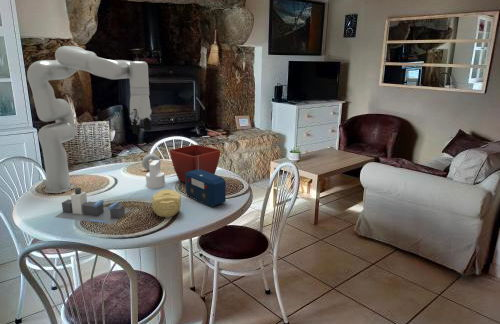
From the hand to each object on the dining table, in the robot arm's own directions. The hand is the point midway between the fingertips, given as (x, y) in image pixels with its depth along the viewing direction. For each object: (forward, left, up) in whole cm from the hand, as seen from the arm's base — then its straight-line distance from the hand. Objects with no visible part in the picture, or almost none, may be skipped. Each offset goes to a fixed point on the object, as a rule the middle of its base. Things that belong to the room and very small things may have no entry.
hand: (142, 131), depth 158 cm
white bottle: (-17, -23, -30) cm, 41 cm away
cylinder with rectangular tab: (-4, +18, -32) cm, 36 cm away
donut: (-17, +40, -31) cm, 54 cm away
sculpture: (+16, -13, -32) cm, 38 cm away
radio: (+26, +6, -32) cm, 41 cm away
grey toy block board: (-11, -23, -31) cm, 40 cm away
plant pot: (+13, +30, -32) cm, 45 cm away
